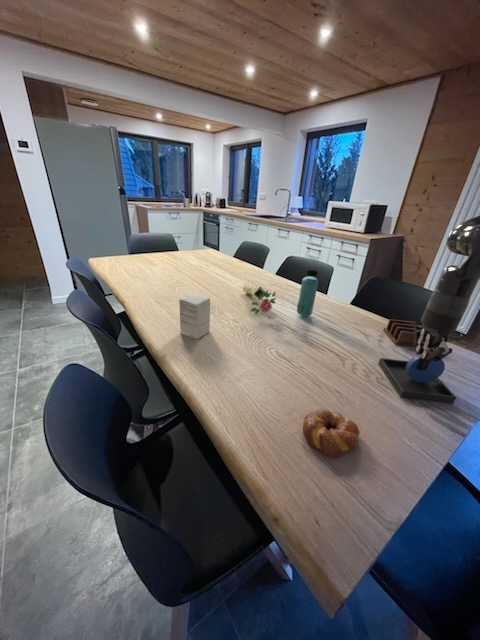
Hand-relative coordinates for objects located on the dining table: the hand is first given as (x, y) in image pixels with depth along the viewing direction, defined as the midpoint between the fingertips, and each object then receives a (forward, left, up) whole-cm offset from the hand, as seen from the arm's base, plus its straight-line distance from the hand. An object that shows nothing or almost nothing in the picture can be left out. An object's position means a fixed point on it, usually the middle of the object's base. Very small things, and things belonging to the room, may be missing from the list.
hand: (418, 366), depth 72 cm
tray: (0, 0, -5) cm, 5 cm away
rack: (-10, -27, -5) cm, 29 cm away
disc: (-2, 0, 0) cm, 2 cm away
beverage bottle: (+26, -38, -5) cm, 46 cm away
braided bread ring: (+28, +23, -5) cm, 37 cm away
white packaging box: (+66, -14, -5) cm, 68 cm away
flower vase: (+46, -43, -5) cm, 63 cm away
